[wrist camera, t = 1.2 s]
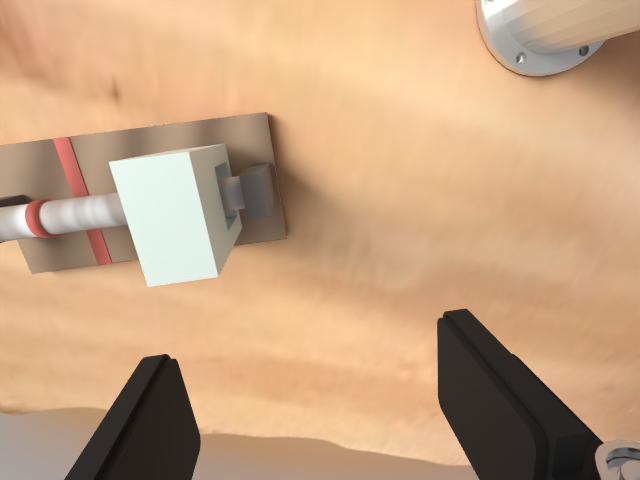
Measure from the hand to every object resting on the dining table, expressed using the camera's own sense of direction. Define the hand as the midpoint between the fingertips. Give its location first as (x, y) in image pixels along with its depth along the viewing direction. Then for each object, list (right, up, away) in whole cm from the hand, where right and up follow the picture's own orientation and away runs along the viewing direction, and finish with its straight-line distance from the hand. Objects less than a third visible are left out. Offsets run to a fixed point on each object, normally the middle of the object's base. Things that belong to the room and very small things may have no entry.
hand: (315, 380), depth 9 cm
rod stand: (-15, +8, +21) cm, 27 cm away
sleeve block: (-9, +8, +19) cm, 22 cm away
